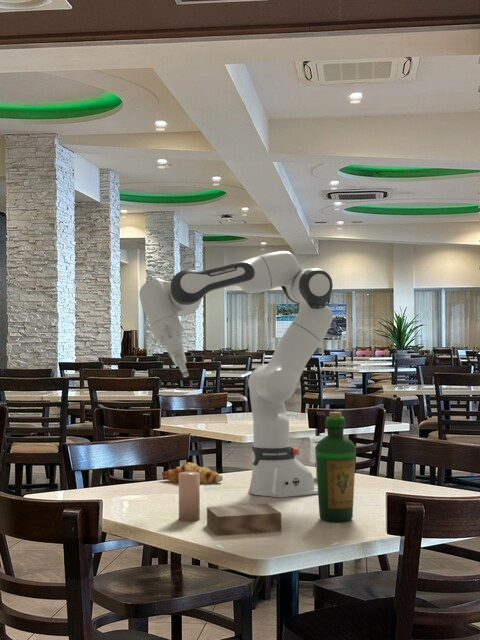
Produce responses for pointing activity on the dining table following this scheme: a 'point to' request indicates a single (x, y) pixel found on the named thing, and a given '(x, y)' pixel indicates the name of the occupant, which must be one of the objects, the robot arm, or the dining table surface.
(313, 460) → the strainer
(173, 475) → the croissant
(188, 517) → the pink upright cylinder
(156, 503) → the dining table surface
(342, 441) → the bottle
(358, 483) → the dining table surface
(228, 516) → the brown rectangular block
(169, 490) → the dining table surface
